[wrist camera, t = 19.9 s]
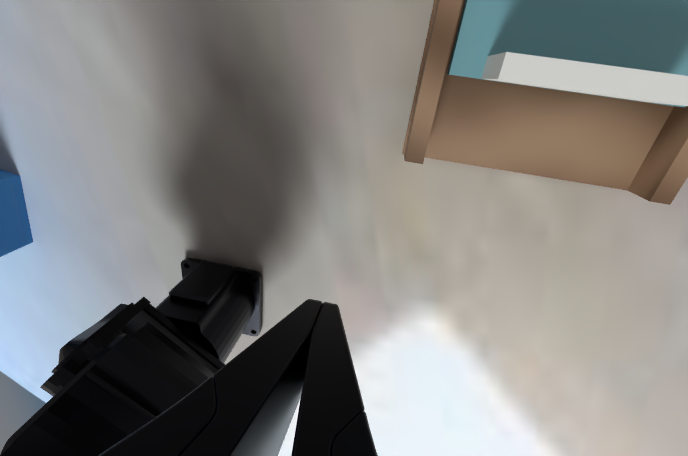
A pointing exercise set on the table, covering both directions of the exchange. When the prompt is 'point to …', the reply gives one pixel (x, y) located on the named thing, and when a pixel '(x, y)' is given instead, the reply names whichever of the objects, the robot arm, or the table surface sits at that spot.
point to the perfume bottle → (13, 214)
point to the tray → (578, 46)
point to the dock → (542, 126)
